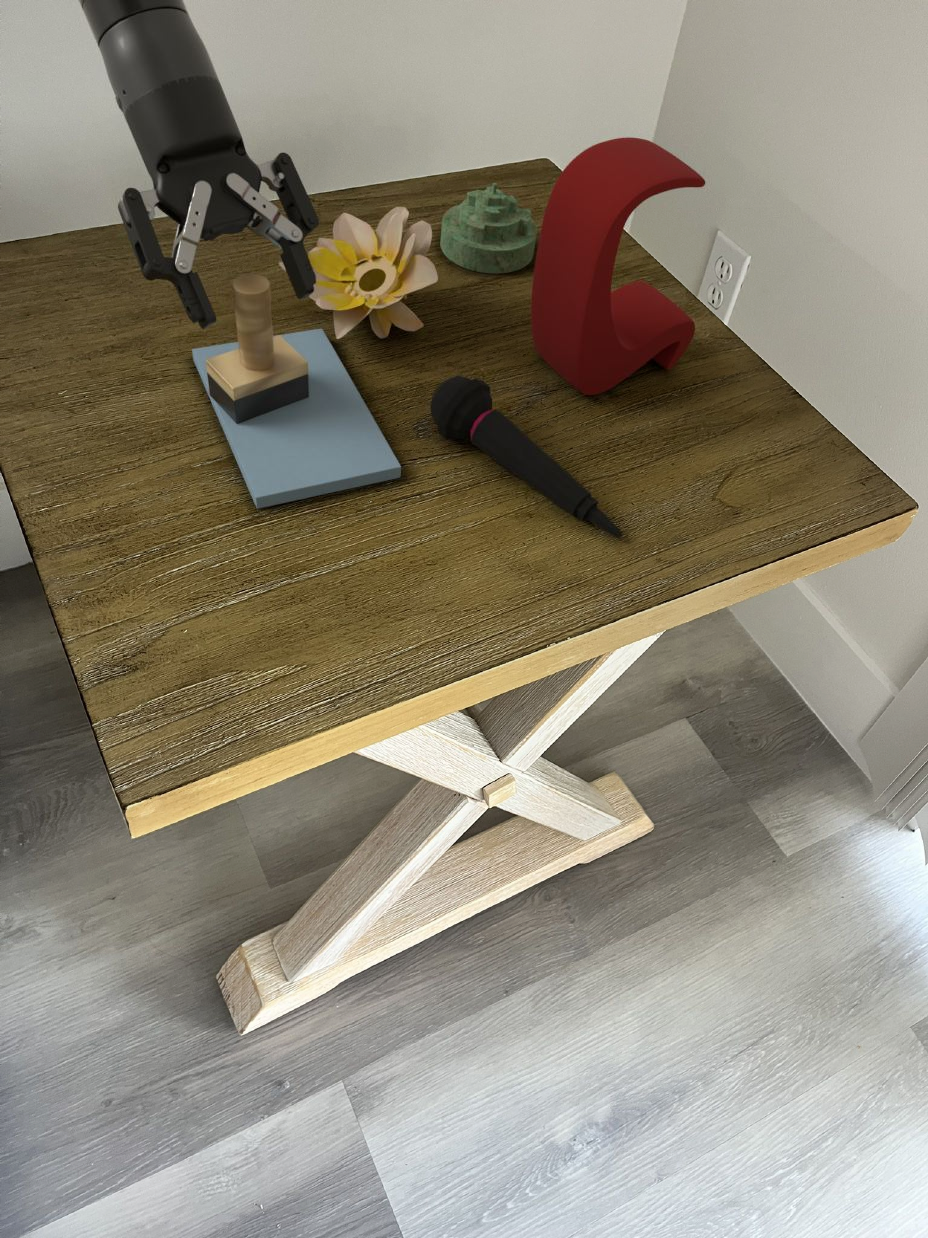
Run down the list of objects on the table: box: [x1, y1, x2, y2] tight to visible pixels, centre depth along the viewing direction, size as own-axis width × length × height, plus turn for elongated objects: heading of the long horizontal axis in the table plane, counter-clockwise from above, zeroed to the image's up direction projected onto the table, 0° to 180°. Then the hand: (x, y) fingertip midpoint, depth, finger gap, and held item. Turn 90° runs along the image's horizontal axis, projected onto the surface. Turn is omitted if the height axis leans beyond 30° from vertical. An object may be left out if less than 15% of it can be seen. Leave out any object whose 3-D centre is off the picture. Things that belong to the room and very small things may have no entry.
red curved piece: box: [530, 136, 706, 396], centre depth 85 cm, size 15×7×20 cm, turn 123°
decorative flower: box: [278, 206, 439, 340], centre depth 91 cm, size 15×11×10 cm
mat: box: [191, 328, 402, 510], centre depth 83 cm, size 12×20×1 cm, turn 24°
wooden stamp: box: [206, 273, 309, 424], centre depth 79 cm, size 7×4×11 cm, turn 128°
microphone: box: [430, 374, 623, 539], centre depth 80 cm, size 6×6×20 cm
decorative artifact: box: [439, 182, 538, 275], centre depth 102 cm, size 10×7×10 cm
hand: (259, 309), depth 76 cm, fingers open, 8 cm apart
